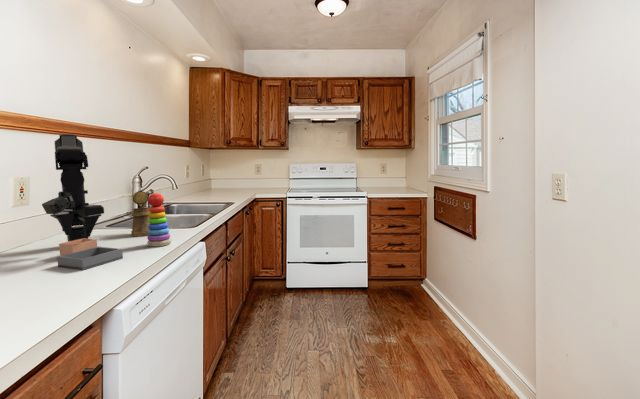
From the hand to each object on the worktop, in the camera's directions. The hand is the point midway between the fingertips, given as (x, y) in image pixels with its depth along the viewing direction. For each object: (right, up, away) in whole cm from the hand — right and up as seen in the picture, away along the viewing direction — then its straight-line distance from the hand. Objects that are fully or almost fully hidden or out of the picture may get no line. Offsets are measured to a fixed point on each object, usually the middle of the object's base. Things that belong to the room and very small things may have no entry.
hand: (77, 235), depth 111 cm
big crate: (+10, -7, -8) cm, 15 cm away
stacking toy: (+20, -5, +13) cm, 25 cm away
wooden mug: (+4, -3, +34) cm, 35 cm away
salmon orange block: (0, -6, +1) cm, 6 cm away
